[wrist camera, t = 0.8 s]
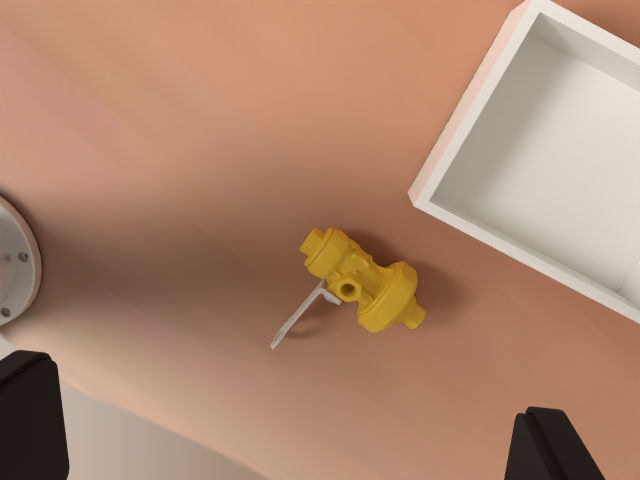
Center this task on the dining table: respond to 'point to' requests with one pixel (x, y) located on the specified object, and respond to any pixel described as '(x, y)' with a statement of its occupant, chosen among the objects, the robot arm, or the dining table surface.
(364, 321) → the pressure relief valve
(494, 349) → the dining table surface
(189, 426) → the dining table surface
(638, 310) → the bin
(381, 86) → the dining table surface
